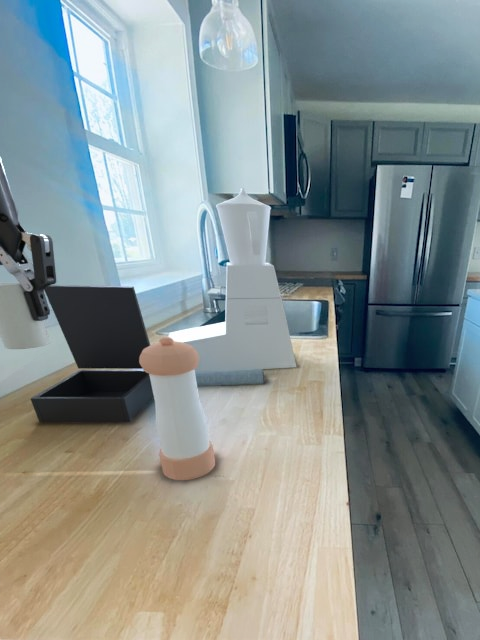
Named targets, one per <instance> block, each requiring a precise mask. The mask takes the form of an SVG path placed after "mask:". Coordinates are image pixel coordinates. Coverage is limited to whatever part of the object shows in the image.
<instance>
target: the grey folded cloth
mask: <svg viewBox="0 0 480 640" xmlns="http://www.w3.org/2000/svg"><path fill="white" fill-rule="evenodd" d="M195 376H196V382H197V387H201V386H202V387H204V386H242V385H244V386H245V385H264V383H265V372H264V369H256V370H237V371H211V372H195Z"/></svg>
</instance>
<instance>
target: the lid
mask: <svg viewBox="0 0 480 640" xmlns="http://www.w3.org/2000/svg"><path fill="white" fill-rule="evenodd" d="M44 294H45V296H47V300H48V302H49V304H50V307H51V310H52V312H53V313H54V316H55V318H56V320H57V323H58V325H59V327H60V330H61V332H62V334H63V337H64V339H65V341H66V343H67V346H68V348H69V350H70V353H71V355H72V357H73V360H74V362H75V364H76V366H77V369H79V370H144V369H143V368H142V367H141V365H140V363H139V358H140V355H141V353H142V351H143V349H145V348H147V347H148V346H150V345H151V342H150V339H149V335H148V332H147V329H146V326H145V322H144V317H143V315H142V311H141V308H140V305H139V301H138V297H137V294H136V290H135V286H130V285H126V286H125V285H123V286H122V285H65V284H64V285H63V284H62V285H61V284H60V285H58V284H57V285H56V284H52V285H49V286H47V287H45V288H44Z"/></svg>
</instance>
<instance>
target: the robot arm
mask: <svg viewBox="0 0 480 640" xmlns="http://www.w3.org/2000/svg"><path fill="white" fill-rule="evenodd" d="M26 245H27V246H26ZM25 247H27V249H28V250H29V251H30V252H31V259H32V261H31V260H30V258H29V257H28V255H27V254H26V252H25V251H24V250H25ZM55 263H56V262H55V253H54V241H53V238H52V237H51V236H50V235H48V234H36V233H31V232H27V231H26V229H25V228H24V227H23V226H22V224H21V223H20V220H19V210H18V208H17V204H16V201H15V198H14V195H13V192H12V189H11V186H10V183H9V180H8V177H7V174H6V170H5V168H4V165H3V161H2V158H1V157H0V266H3V267H4V268H5V270H6V271H7V272H8V274H10V275H13V276H14V278H15V279H16V280H17V281H18V282H19V283H20V284H21V286H22V287H23V288H24V289H25V290H26V291H27V292H24V295H25V298H26V301H27V304H28V306H29V309H30V312H31V315H32V318H33V320H35V321H46V320H48V319H49V316H50V313H51V310H50V307H49V304H48V301H47V300H48V299H47V298H46V293H45V290H44V288H45V287H47V286H49V285H56V283H57V272H56V264H55Z"/></svg>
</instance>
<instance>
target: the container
mask: <svg viewBox="0 0 480 640" xmlns="http://www.w3.org/2000/svg"><path fill="white" fill-rule="evenodd" d="M24 292H27V291H26V290H25V289H24V288H23V287H22V286H21V284H20V283H19V282H18V280H17V281H12V280H11V281H10V280H9V281H0V339H1V341H2V344H3V346H4V348H5V349H8V350H27V349H29V350H30V349H34V348H36V349H37V348H41V347H44V346H47V345H49V344H51V339H50V336H49V333H48V330H47V327H46V324H45V320H43V321H35V320H33V318H32V315H31V312H30V309H29V306H28V304H27V301H26V298H25V295H24Z"/></svg>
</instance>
